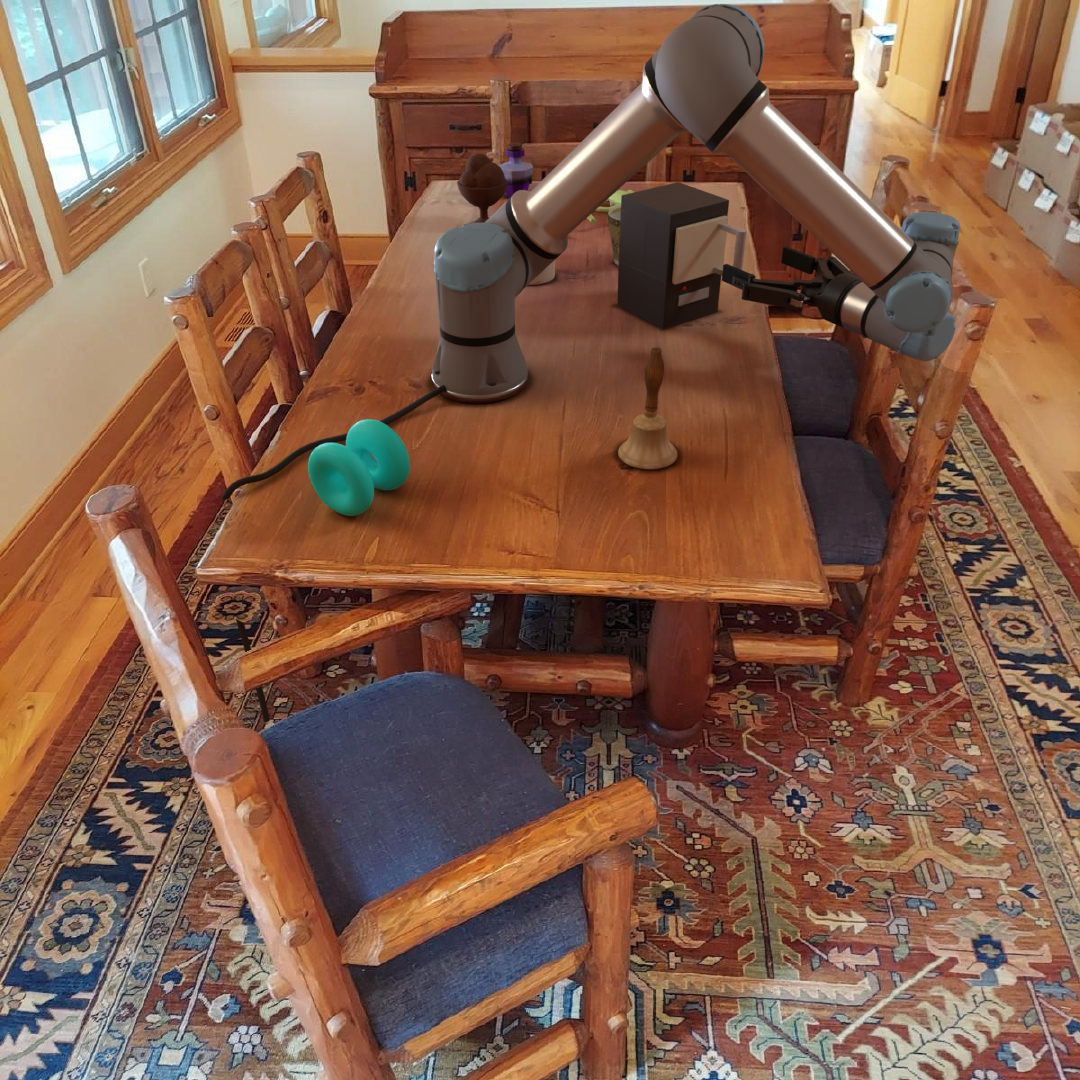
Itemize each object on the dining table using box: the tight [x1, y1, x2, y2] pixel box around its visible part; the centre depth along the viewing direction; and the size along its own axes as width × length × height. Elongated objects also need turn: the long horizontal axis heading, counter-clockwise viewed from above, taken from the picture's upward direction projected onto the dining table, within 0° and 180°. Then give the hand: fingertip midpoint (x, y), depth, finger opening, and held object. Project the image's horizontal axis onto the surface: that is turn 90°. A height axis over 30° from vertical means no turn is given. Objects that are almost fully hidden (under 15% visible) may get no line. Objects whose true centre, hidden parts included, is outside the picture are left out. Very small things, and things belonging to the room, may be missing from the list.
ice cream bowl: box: [456, 152, 508, 223], centre depth 209 cm, size 11×11×15 cm
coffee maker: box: [616, 181, 730, 330], centre depth 169 cm, size 14×13×20 cm
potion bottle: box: [497, 142, 534, 199], centre depth 227 cm, size 9×9×12 cm
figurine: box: [586, 189, 635, 225], centre depth 214 cm, size 18×27×6 cm
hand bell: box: [617, 346, 679, 470], centre depth 130 cm, size 8×8×16 cm
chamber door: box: [672, 215, 747, 284], centre depth 161 cm, size 7×11×9 cm, turn 125°
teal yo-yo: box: [307, 418, 411, 517], centre depth 123 cm, size 10×10×10 cm
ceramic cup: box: [607, 206, 621, 267], centre depth 192 cm, size 13×10×10 cm
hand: (754, 263), depth 158 cm, fingers open, 13 cm apart
